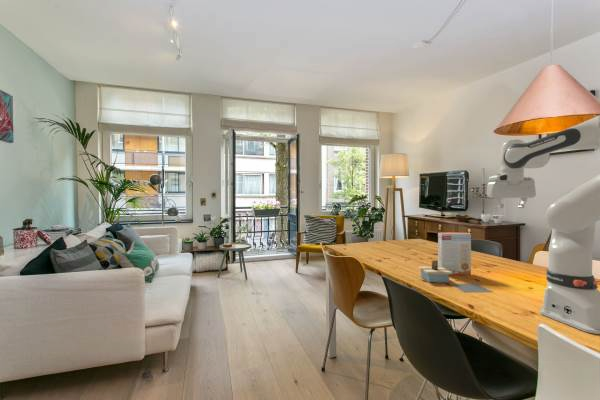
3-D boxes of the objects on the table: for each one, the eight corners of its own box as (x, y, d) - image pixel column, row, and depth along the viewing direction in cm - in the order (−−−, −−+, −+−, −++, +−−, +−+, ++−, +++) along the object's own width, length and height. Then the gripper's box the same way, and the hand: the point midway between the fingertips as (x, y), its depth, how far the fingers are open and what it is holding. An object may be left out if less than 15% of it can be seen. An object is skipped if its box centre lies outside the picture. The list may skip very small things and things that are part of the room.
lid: (452, 274, 137) (452, 263, 137) (428, 274, 137) (428, 263, 137) (440, 268, 148) (440, 258, 148) (418, 268, 148) (418, 258, 148)
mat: (493, 293, 125) (493, 292, 125) (464, 293, 125) (464, 292, 125) (476, 284, 137) (476, 283, 137) (449, 284, 137) (449, 283, 137)
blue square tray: (448, 283, 138) (449, 273, 138) (429, 283, 138) (429, 273, 138) (439, 277, 147) (439, 268, 147) (420, 278, 147) (420, 268, 147)
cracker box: (465, 273, 156) (466, 232, 156) (471, 276, 150) (471, 233, 150) (437, 272, 157) (437, 231, 157) (441, 275, 151) (442, 233, 151)
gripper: (528, 177, 140) (528, 207, 141) (484, 177, 140) (484, 207, 140) (540, 176, 134) (539, 208, 134) (493, 176, 134) (493, 208, 134)
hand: (510, 208), depth 137 cm, fingers open, 8 cm apart
